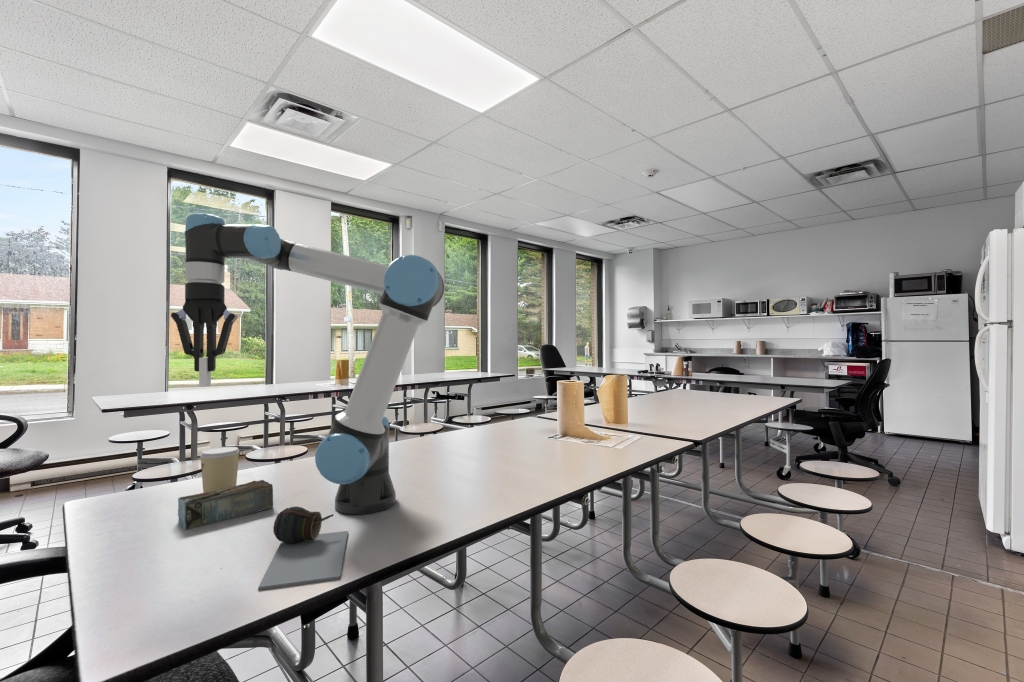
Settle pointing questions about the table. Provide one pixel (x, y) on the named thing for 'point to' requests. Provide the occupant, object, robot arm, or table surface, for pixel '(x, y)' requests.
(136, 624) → the table surface
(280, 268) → the robot arm
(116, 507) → the table surface
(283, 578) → the mat
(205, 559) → the table surface
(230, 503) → the beverage carton
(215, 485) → the coffee cup
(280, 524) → the mate gourd
